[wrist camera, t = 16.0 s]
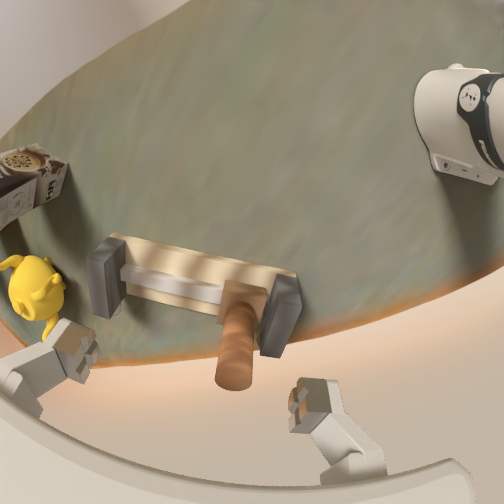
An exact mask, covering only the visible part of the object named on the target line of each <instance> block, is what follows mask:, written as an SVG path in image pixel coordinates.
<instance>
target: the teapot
mask: <svg viewBox="0 0 504 504" xmlns="http://www.w3.org/2000/svg"><path fill="white" fill-rule="evenodd" d="M9 266H12V267H14V270H13V273H12V276H11V279H10V284H9V291H8V292H9V298H10V300H11V303H12V306H13V308H14V310H15V311H16V312H17V313H18V314H19V315H21V316H22V317H24V318H25V319H27V320H30V321H36V320H42V319H46V321H47V326H46V329H45V330H44V332H43V336H42V339H43V342H44V340H45V339H46V338H47V336H48V335H49V334H50V332H51V331H52V330H53V328H54V327H55V326H56V324H57V323H58V311H59V310H60V309H61V308H62V306H63V302H64V292H63V290H65V289H66V285H65V283H64V282H63V281H62V277H61V275H60V274H58V273H56V271H55V270H54V268H53V267H52V261H51V259H50V258H49V257H47V256H46V257H44V259H42V258H39V257H37V256H32V255H29V256H25V257H23V256H21V255H13V256H10V257H9V258H7V259H6V260H5V261H3V262H2V263H0V271H3V270H4V269H6V268H7V267H9Z"/></svg>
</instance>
